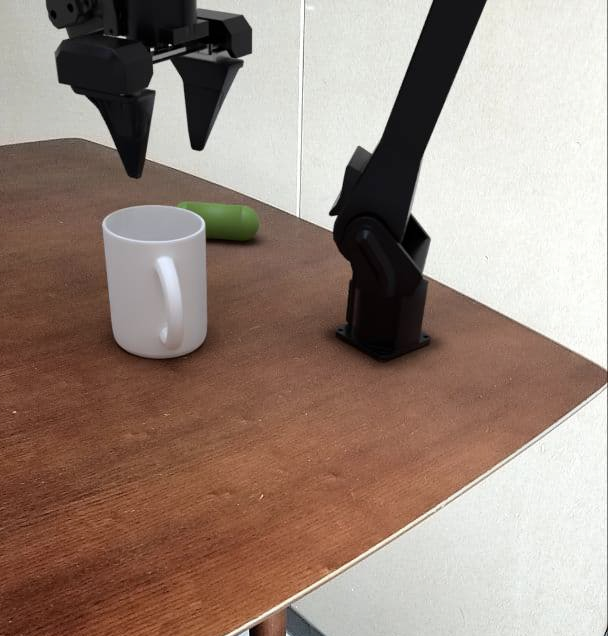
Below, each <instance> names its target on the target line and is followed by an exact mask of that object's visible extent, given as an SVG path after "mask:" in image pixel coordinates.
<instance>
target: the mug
mask: <svg viewBox="0 0 608 636" xmlns="http://www.w3.org/2000/svg"><path fill="white" fill-rule="evenodd" d="M101 223H102V224H101V227H102V237H103V247H104V257H105V258H104V259H105V268H106V278H107V288H108V289H107V290H108V298H109V308H110V309H109V310H110V319H111V321H110V322H111V327H112V334H113V338H114V340H115V342H116V343H117V344H118V346H119V347H121V348H122V349H123V350H125V351H126V352H128V353H130V354H132V355H135V356H138V357H142V358H147V359H171V358H172V359H173V358H177V357H181V356H185V355H188V354H189V353H192V352H194V351H195V350H197V349H198V348H199V347H200V346H201V345H202V344H203V343H204V342H205V340H206V337H207V333H208V295H207V294H208V293H207V246H206V245H207V243H206V241H207V238H206V236H205V222H204V220H203V219H202V217H200V216H199V215H197V214H196V213H194V212H192V211H189V210H186V209H182V208H178V207H176V206H171V205H162V204H161V205H160V204H145V205H135V206H129V207H124V208H121V209H118V210H115V211H113V212H111V213H109V214H107V215H106V216H105V217H104V218H103V221H102V222H101Z"/></svg>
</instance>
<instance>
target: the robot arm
mask: <svg viewBox="0 0 608 636" xmlns="http://www.w3.org/2000/svg"><path fill="white" fill-rule="evenodd" d="M487 1H488V0H432V2H431V4H430V7H429V10H428V13H427V15H426V17H425V20H424V23H423V26H422V28H421V31H420V33H419V36H418V39H417V42H416V45H415V47H414V49H413V52H412V55H411V57H410V60H409V62H408V65H407V68H406V71H405V73H404V76H403V79H402V80H401V81H402V82H401V84H400V87H399V90H398V92H397V94H396V97H395V100H394V103H393V105H392V107H391V111H390V113H389V116H388V119H387V122H386V125H385V127H384V130H383V132H382V135H381V137H380V139H379V141H378V142H377V143H376V145H375V147H374V149H373V151H372V153H371V152H370V151H369V150H367V149H365V148H364V147H362V146H361V145H357V146H356V148H355V149H354V151H353V153H352V155H351V157H350V159H349V160H348V162H347V164H346V166H345V170H344V175H343V178H342V185H341V189H340V191H339V193H338V195H337V196H336V198H335V200H334V201H333V204H332V206H331V208H330V210H329V212H328V216H329V217H336V218H335V219H334V223H333V229H332V240H333V242H334V243H335V247H336V249H337V250H338V253H340V254H341V256H342V257H343V258H344V259H345V261H348V262H349V265H350V268H351V273H352V274H351V279H349V281H348V292H347V300H346V301H347V302H346V313H345V322H346V323H347V324H344V325H341V326H338V327H336V328H335V329H334V335H335V336H336V337H338V338H340V340H341V339H342V340H343V341H345V342H347V343H348V344H350V345H352V346H354V347H356V348H358V349H359V350H361V351H362V352H364V353H366V354H368V355H370V356H372V357H373V358H375V359H377V360H379V361H383V362H384V361H385V362H386V361H389V360H391V359H393V358H396V357H398V356H401V355H403V354H406V353H408V352H410V351H413V350H416V349H418V348H420V347H424V346H426V345H428V344H430V343H431V341H432V336H431V335H429V334H428V333H426V332H424V331H422V329H423V323H424V322H423V321H424V315H425V309H426V308H425V307H426V302H427V297H428V296H427V295H428V289H429V280H427V279H424V270H425V266H426V263H427V258H428V255H429V250H430V247H431V242H432V238H431V236H430V235H429V233H428V232H427V231H426V229H425V228H424V227H423V226H422V225H421V224H420V222H419V221H418V220H417V219H416V216H414V214H413V213H412V210H413V205H414V201H415V198H416V197H415V196H416V192H417V188H418V183H419V180H420V174H421V169H422V165H423V160H424V155H425V152H426V150H427V147H428V145H429V142H430V140H431V137H432V135H433V133H434V130H435V128H436V125H437V123H438V120H439V118H440V116H441V113H442V111H443V108H444V106H445V103H446V101H447V99H448V97H449V94H450V92H451V89H452V87H453V84H454V81H455V79H456V77H457V74H458V72H459V69H460V68H461V65H462V63H463V60H464V58H465V56H466V53H467V50H468V48H469V46H470V43H471V40H472V39H473V36H474V33H475V31H476V28H477V26H478V23H479V21H480V19H481V16H482V13H483V12H484V9H485V7H486V4H487V3H488V2H487ZM45 8H46V11H47V17H48V20H49V21H50V22H51V25H52V26H53V27H54V28H56V30H62V29H65V31H66V35H67V37H68V38H66V39H65V38H64V39H62V40H61V42H59V45H58V46H57V48H56V49H55V51H54V61H55V69H56V78H57V82H58V84H60V85H64V86H70V87H69V88H70V89H71V90H72V92H73V93H74V94H75V95H80V96H84V97H85V98H86V99H87V100H88V101H90V103H92V105H93V106H95V108H96V110H98V112H99V114H100V116H101V117H102V119H103V121H104V124H105V125H106V127H107V128H106V129H107V130H108V133H109V134H110V137H111V139H112V143H113V144H114V146H115V148H116V151H117V154H118V156H119V159H120V160H121V164H122V165H123V166H122V167H123V168H124V170H125V172H126V175H127V176H128V177H129V178H130V179H135V180H139V179H141V178H142V176H143V172H144V167H145V163H146V160H147V159H146V158H147V152H148V144H149V139H150V132H151V127H152V120H153V114H154V107H155V100H156V94H157V91H156V90H155V89H150V88H149V86H150V84H151V81H152V78H153V76H154V65H156V64H157V65H158V64H160V63H164V62H166V61H170V63H171V64H172V65H173V67H174V68H175V70H176V72H177V73H178V75H179V76H180V78H181V81H182V87H183V88H182V89H183V97H184V106H185V116H186V125H187V133H188V140H189V145H190V148H191V150H192V151H197V152H202V151H204V150H205V147H206V145H207V142H208V140H209V137H210V135H211V133H212V131H213V128H214V126H215V123H216V121H217V119H218V117H219V114H220V111H221V109H222V107H223V104H224V102H225V100H226V98H227V96H228V94H229V91H230V90H231V88H232V85H233V83H234V81H235V79H236V77H237V75H238V73H239V71H240V69H242V68H244V64H245V60H244V59H242V58H243V57H245V56H249V55H252V54H253V27H252V26H251V25H250V23H249V22H248V20H247V19H246V17H245V16H244V14H240V13H232V12H227V11H221V10H220V11H219V10H213V9H206V8H201V7H198V1H197V0H45ZM123 37H124V38H123ZM152 49H153V50H152Z"/></svg>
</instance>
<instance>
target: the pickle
mask: <svg viewBox="0 0 608 636" xmlns="http://www.w3.org/2000/svg"><path fill="white" fill-rule="evenodd" d="M175 207H178V208H182V209H186V210H189V211H192V212H194V213H196V214H197V215H199V216H200V217H202V219H203V220H204V222H205V236H206V239H215V240H216V239H217V240H228V241H240V242H241V241H242V242H244V241H249V240H251V239H253V238H254V237H255V236H256V235H257V233H258V231H259V228H260V219H259V216H258V214H257V213H256V211H255V210H254V209H253V208H252V207H249V206H247V205H239V204H228V203H216V202H215V203H213V202H202V201H189V200H188V201H187V200H185V201H182V202H179V203H177V205H175Z"/></svg>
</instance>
